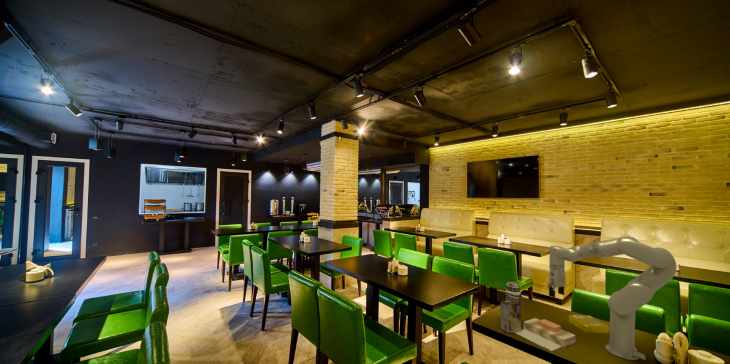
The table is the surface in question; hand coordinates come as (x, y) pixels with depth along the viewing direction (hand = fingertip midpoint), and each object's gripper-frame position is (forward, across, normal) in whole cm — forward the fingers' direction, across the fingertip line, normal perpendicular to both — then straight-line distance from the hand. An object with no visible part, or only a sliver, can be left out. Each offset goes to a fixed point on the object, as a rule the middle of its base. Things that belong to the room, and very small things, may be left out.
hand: (556, 295), depth 166 cm
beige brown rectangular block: (+21, -11, -1) cm, 23 cm away
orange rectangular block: (+17, -10, -1) cm, 19 cm away
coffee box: (+20, -26, +12) cm, 35 cm away
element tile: (+22, +24, -6) cm, 33 cm away
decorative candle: (+21, -17, +17) cm, 31 cm away
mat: (+21, -22, -1) cm, 30 cm away
